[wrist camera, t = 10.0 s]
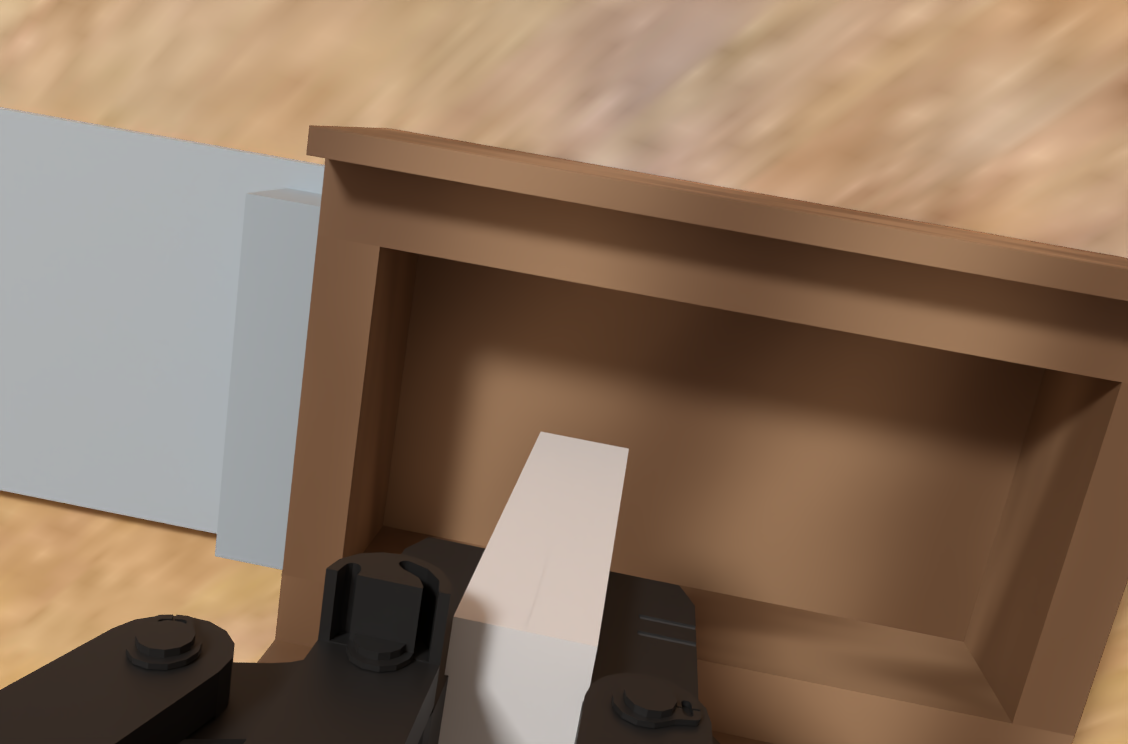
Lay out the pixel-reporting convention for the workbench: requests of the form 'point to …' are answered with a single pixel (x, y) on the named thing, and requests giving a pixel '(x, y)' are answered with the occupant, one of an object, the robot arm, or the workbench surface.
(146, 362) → the lid
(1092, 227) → the workbench surface
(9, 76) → the workbench surface
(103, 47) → the workbench surface
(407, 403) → the case
